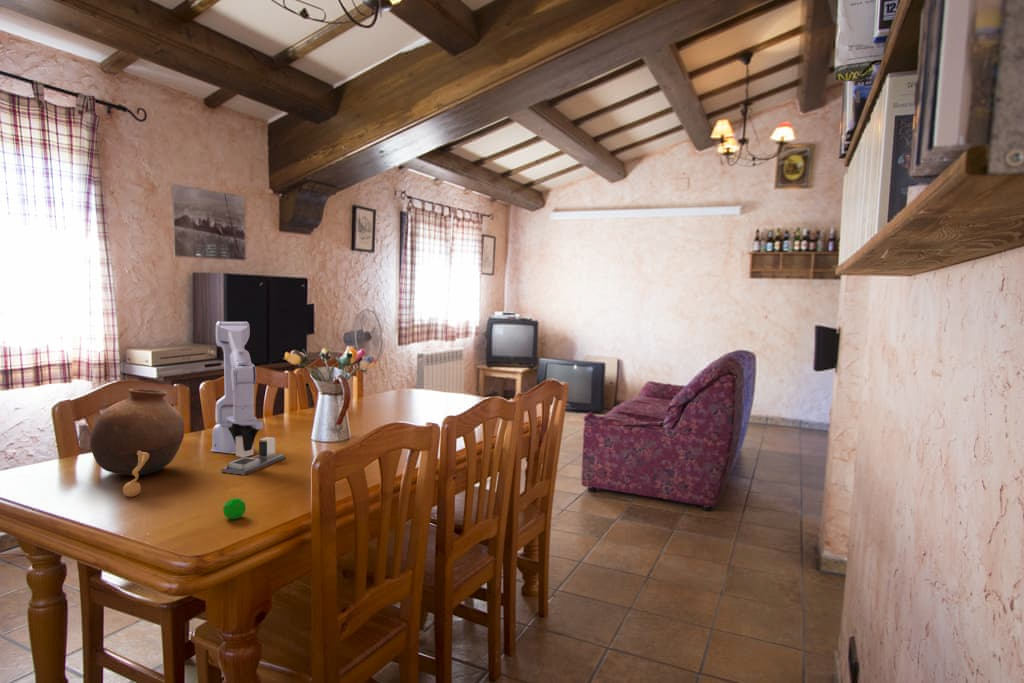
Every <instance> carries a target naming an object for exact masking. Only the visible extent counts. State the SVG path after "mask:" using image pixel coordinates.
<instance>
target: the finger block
mask: <svg viewBox="0 0 1024 683" xmlns="http://www.w3.org/2000/svg"><path fill="white" fill-rule="evenodd" d="M254 452H255V441H254V442H253V446H252V449H251V450H248V451H245V450H244V446H243V437H242V435H239V436H236V453H235V457H239V458H243V457H246V458H247V457H249V456H254V454H255V453H254Z"/></svg>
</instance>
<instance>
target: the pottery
mask: <svg viewBox="0 0 1024 683" xmlns="http://www.w3.org/2000/svg"><path fill="white" fill-rule="evenodd" d="M128 392H129V393H130V396H128V397H126V399H123V400H120V401H118V402H116V403H114V404H112V405H110V406H109V407H108V408H107V409H105V410H104V411H102V412H101V413H100V415H98V417H97V419H96V421H95V423H94V426H93V428H92V430H91V433H90V438H89V446H90V450H91V451H90V452H91V453H92V456H93V457H94V460H95V462H96V464H97V465H98V466H99V467H100V468H101V469H103V470H104V471H106V472H109V473H112V474H116V475H122V476H134V475H133V474H132V472H133V470H134V469H135V468H136V467H137V466H138V465H137V463H138V457H139V456H138V455H137V452H138V451H141V452H146V453H149V458H148V460H147V461H146V462H145V464H144V466H143V467H142V468H141V469H140V471H138V472H137V473H139V476H145V475H150V474H152V473H156V472H157V471H160V470H162V469H163V468H165V467H167V466H168V465H169V464H170V463H171V462H172V461H173V460H174V458H175V457H176V455H177V453H178V452H179V450H180V447H181V445H182V444H183V440H184V436H185V431H186V430H185V426H186V425H185V421H184V418H183V416H182V415H181V413H180V412H179V411H178V410H177V409H176V408H175V407H174V406H172V405H171V404H170V403H169V402H167V401H166V400H164V397H166V395H167V394H168V392H167V391H162V390H153V389H144V388H129V389H128ZM134 477H135V476H134Z"/></svg>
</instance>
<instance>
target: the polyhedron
mask: <svg viewBox="0 0 1024 683" xmlns="http://www.w3.org/2000/svg"><path fill="white" fill-rule="evenodd" d="M245 502H246V501H244V499H242V498H239V497H233V498H230V499H228V500H227V501H226V502H225V503H224V506H223V508H222V509H223V510H222V511H223V514H224V516H225V517H226V519H229V520H238V519H239V518H241V517H243V516H244V515H245V513H246V510H247V508H246V503H245ZM237 518H238V519H237Z"/></svg>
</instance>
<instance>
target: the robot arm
mask: <svg viewBox="0 0 1024 683" xmlns="http://www.w3.org/2000/svg"><path fill="white" fill-rule="evenodd" d="M250 329H251V328H250V323H249V322H248V321H219V320H218V321H217V322H216V323H215V343H216V346H218V347H220V348H222V351H223V369H224V370H223V371H224V372H223V373H224V374H223V375H224V376H223V377H224V381H223V382H224V384H223V385H224V395H223V396H222V397H220V398H219V399H218V400H216V402H215V409H214V412H215V414H214V417H215V423H216V424H215V425H214V426H213V428H212V433H211V434H212V435H211V440H212V442H211V443H212V444H211V449H210V451H211V452H213V453H215V452H216V453H223V454H224V453H226V454H232V455H233V454H236V436H239V435H242V437H243V446H244V450H245V451H248V450H251V449H252V446H253V442H254V443H255V438H256V436H257V434H258V432H259V431H260V429H261V430H262V429H264V421H260V420H258V419H257V417H256V416H255V385H256V382H257V368H256V366H255V364H254V363H252V360H251V356H250V355H251V354H250V352H249V351H248V350H246V349H245V346H246V345H247V343H248V340H249V339H250V337H251V336H250V334H251V333H250V332H251V330H250Z"/></svg>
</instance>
